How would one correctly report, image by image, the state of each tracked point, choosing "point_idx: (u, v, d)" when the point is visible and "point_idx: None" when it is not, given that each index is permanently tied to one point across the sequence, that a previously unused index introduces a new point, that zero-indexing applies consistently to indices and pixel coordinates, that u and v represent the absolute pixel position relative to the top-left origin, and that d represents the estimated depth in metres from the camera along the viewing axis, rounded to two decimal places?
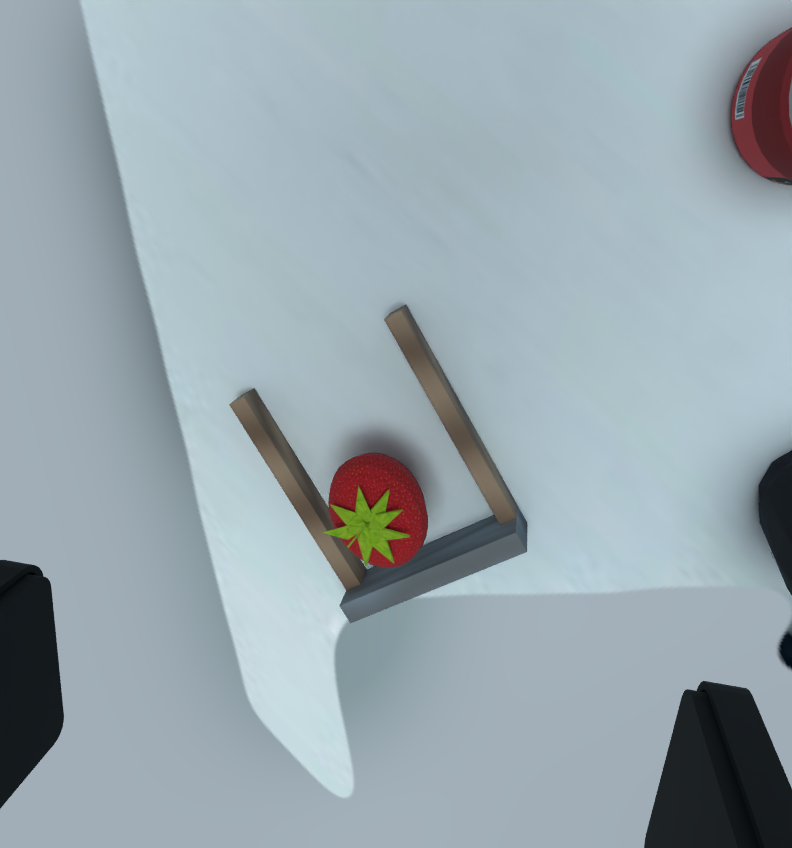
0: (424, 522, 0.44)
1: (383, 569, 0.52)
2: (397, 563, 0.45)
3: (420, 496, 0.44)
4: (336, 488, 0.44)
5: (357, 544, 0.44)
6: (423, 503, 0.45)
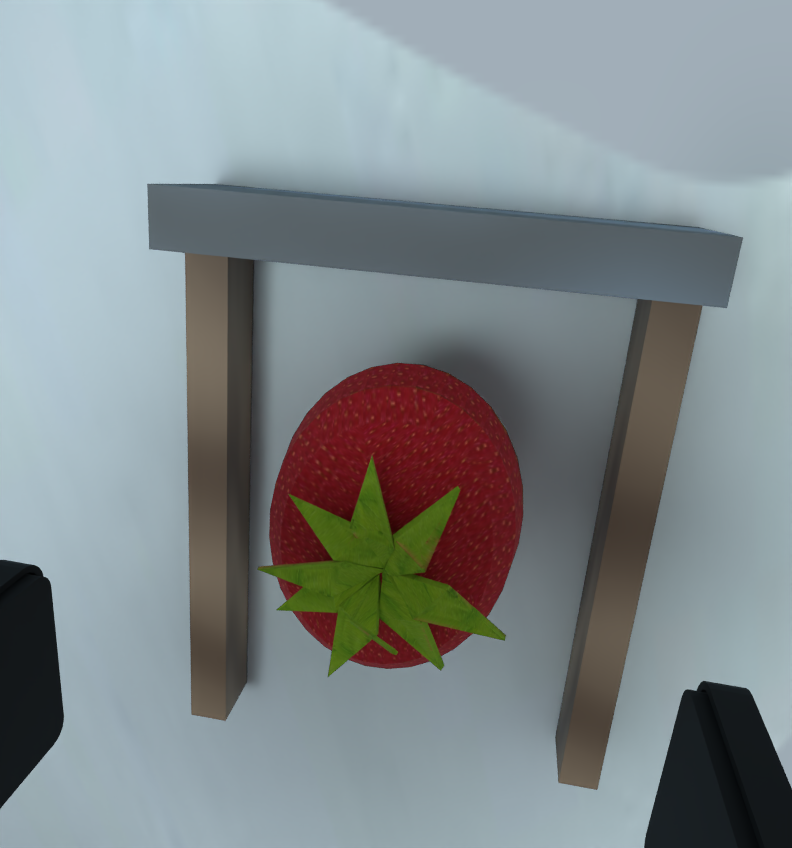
0: (290, 446, 0.16)
1: None
2: (404, 407, 0.15)
3: None
4: (418, 660, 0.17)
5: (454, 535, 0.15)
6: None
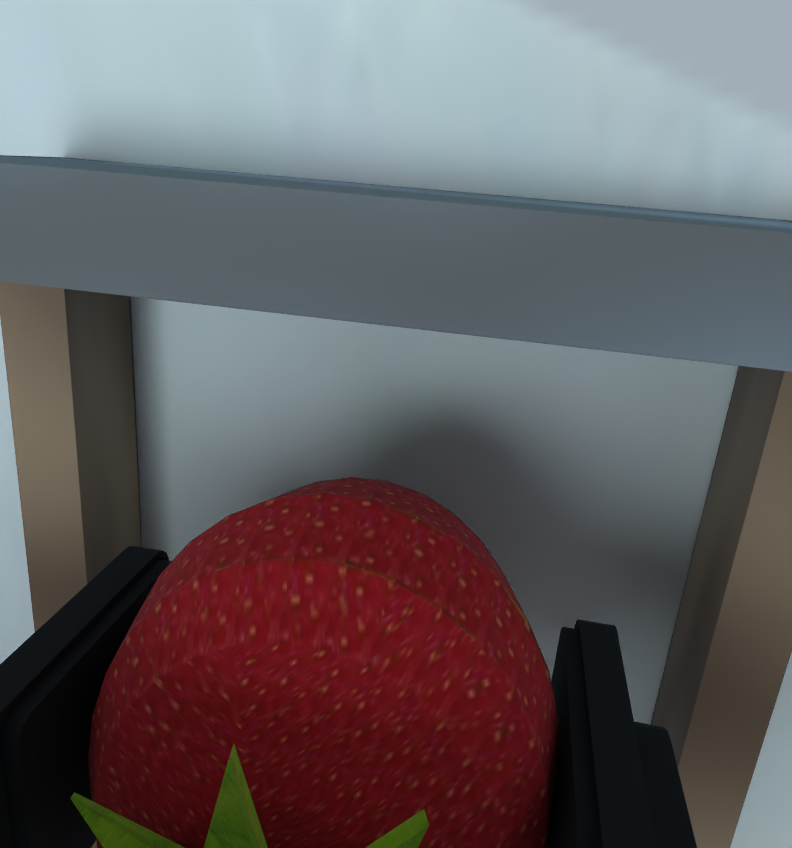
0: (121, 644, 0.09)
1: None
2: (319, 610, 0.07)
3: None
4: None
5: None
6: None
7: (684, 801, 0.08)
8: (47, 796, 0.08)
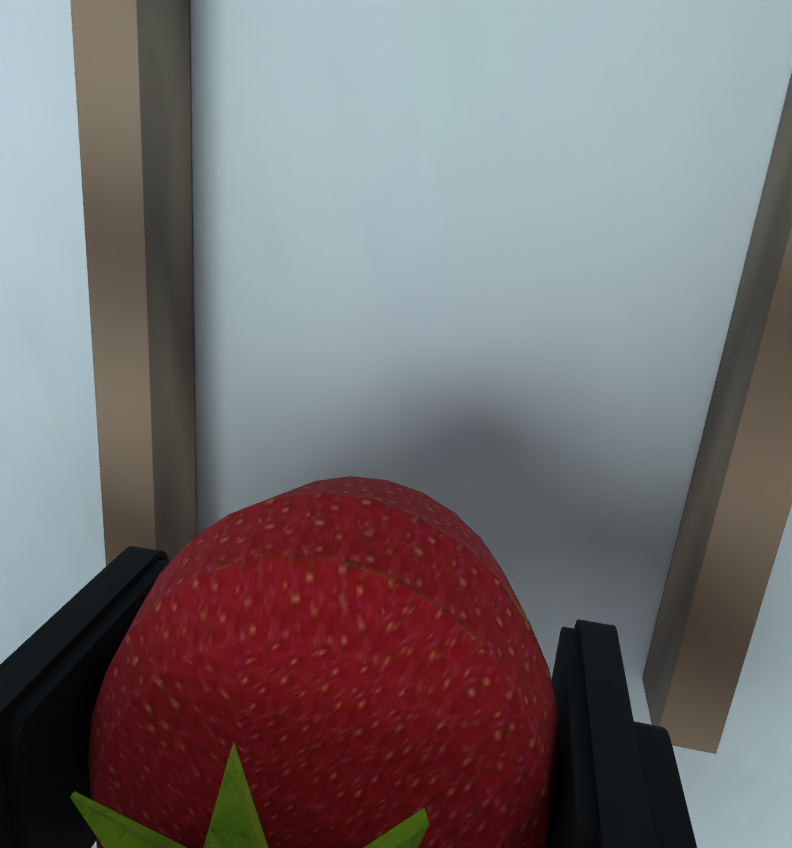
0: None
1: None
2: (319, 609, 0.07)
3: None
4: None
5: None
6: None
7: (684, 801, 0.08)
8: (47, 796, 0.08)
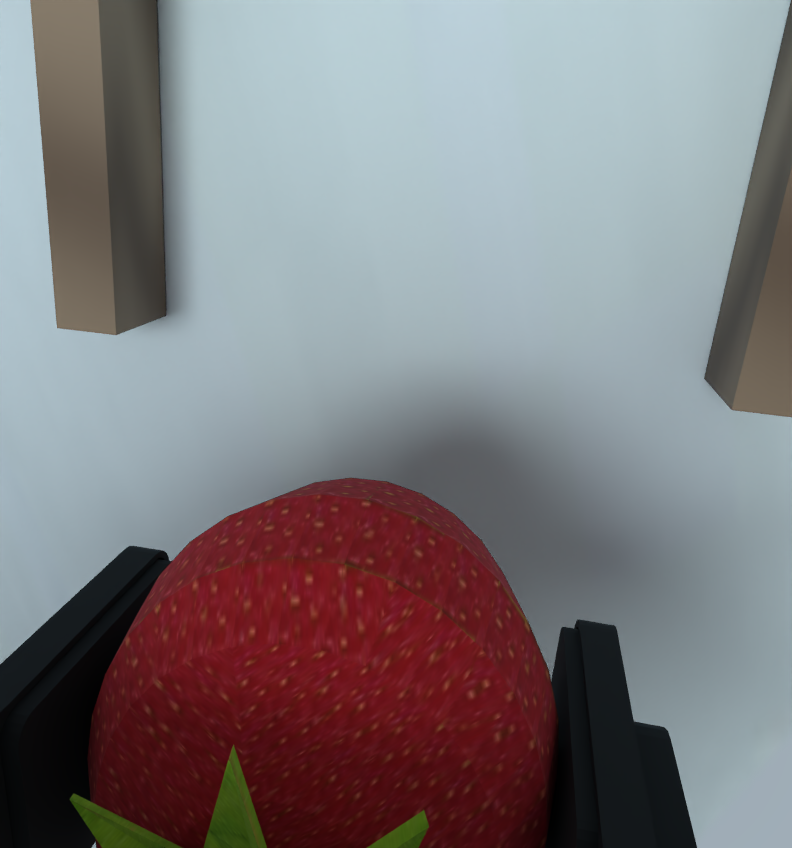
0: (121, 644, 0.09)
1: None
2: (319, 611, 0.07)
3: None
4: None
5: None
6: None
7: (684, 801, 0.08)
8: (47, 796, 0.08)
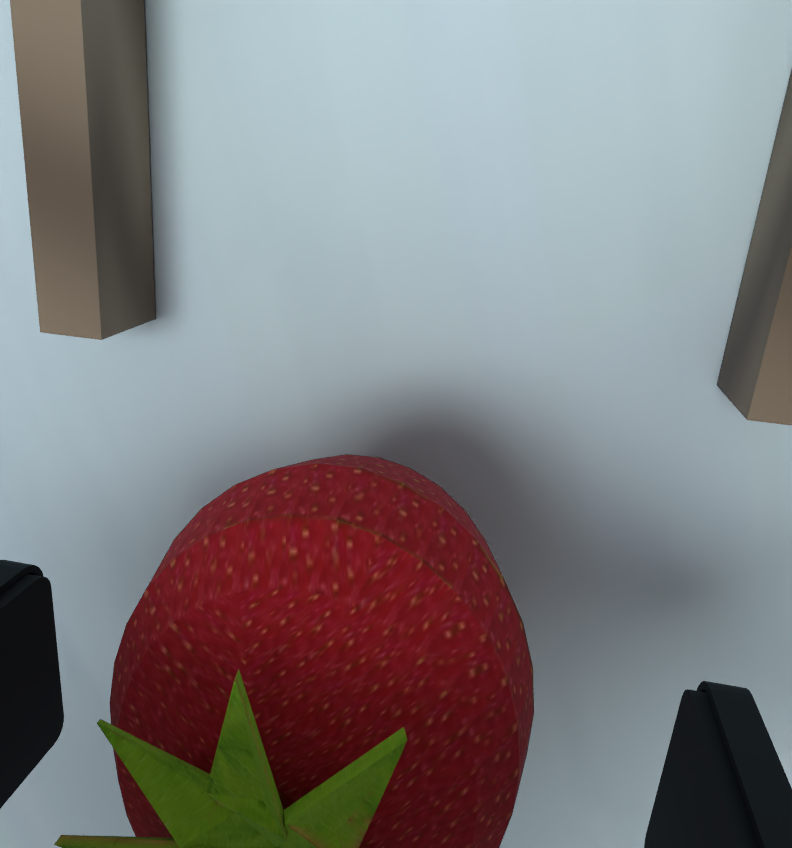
0: None
1: None
2: (314, 560, 0.08)
3: None
4: None
5: (406, 792, 0.08)
6: None
7: None
8: None
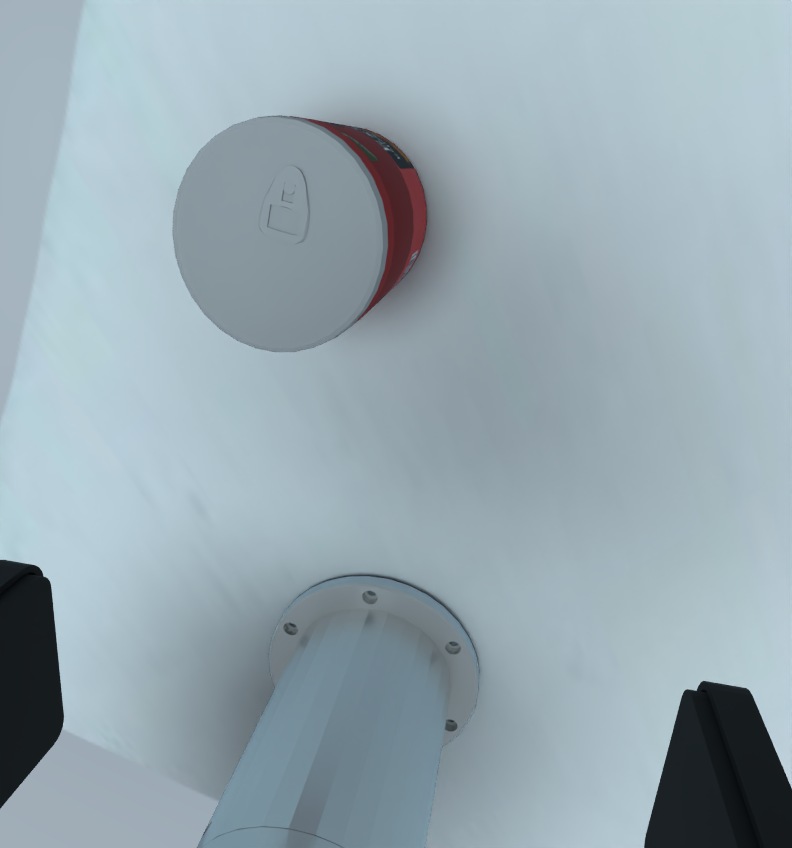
0: None
1: None
2: None
3: None
4: None
5: None
6: None
7: None
8: None
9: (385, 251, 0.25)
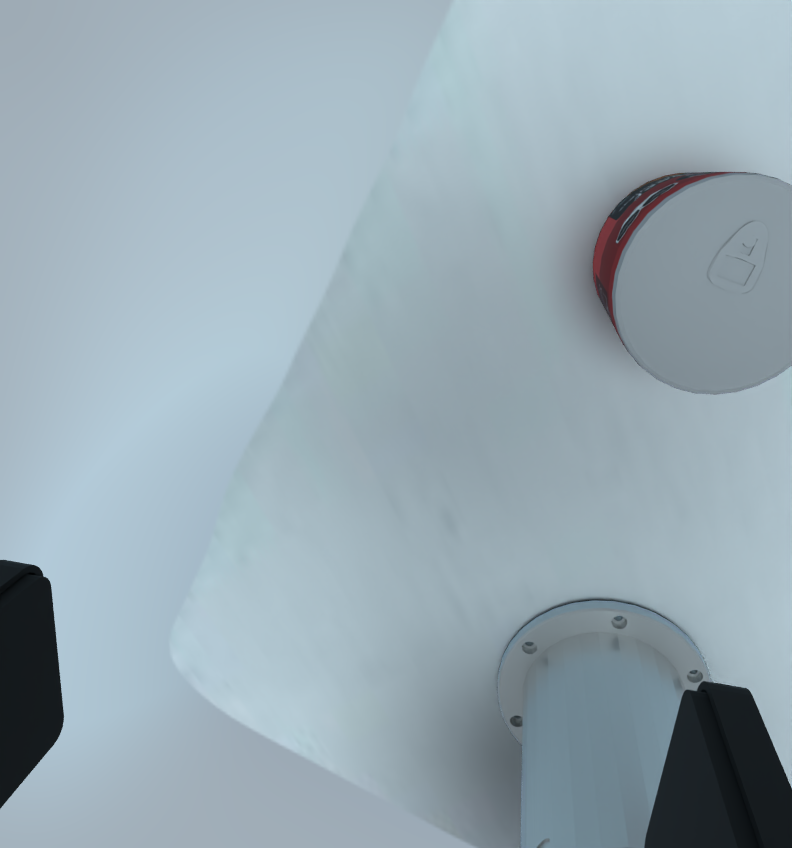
0: None
1: None
2: None
3: None
4: None
5: None
6: None
7: None
8: None
9: None
